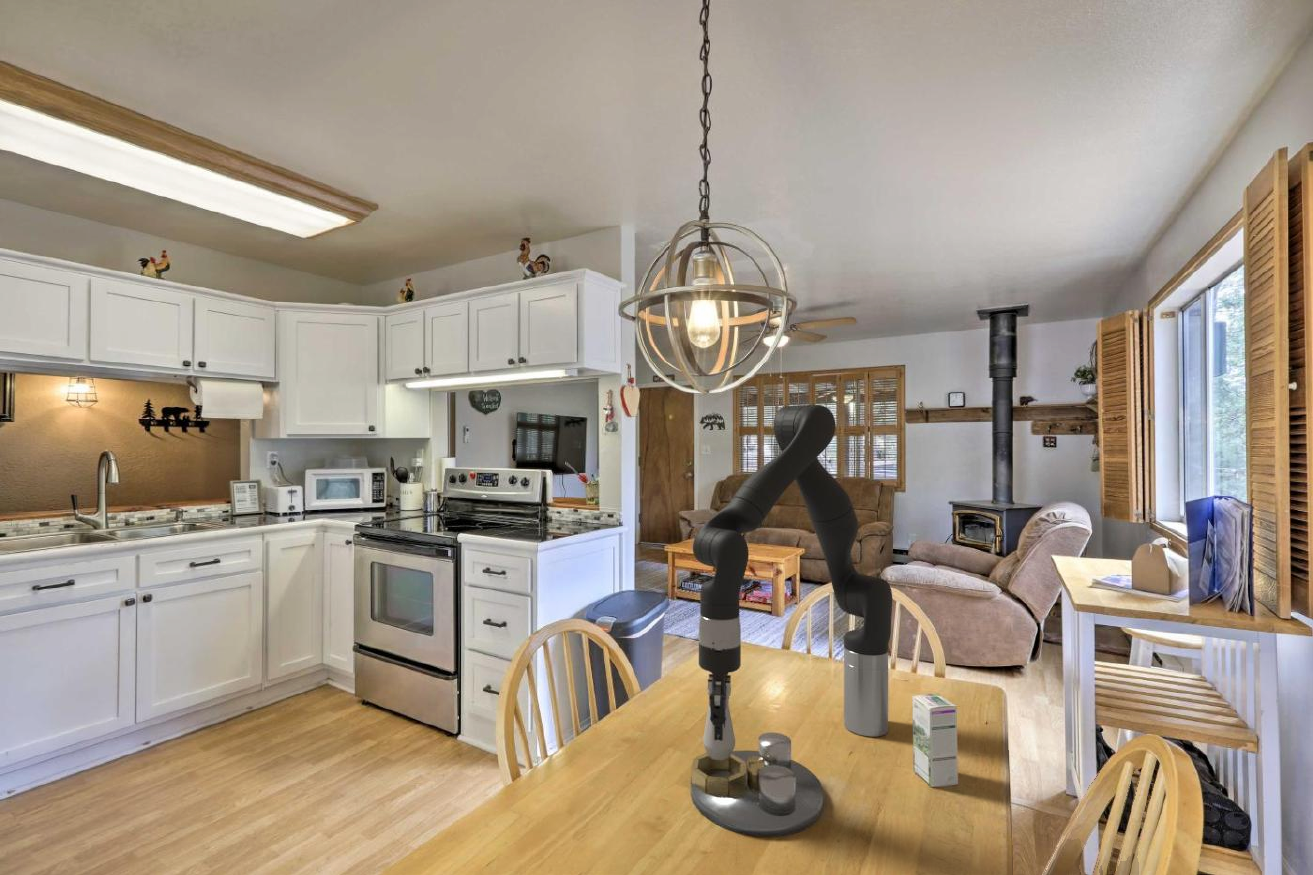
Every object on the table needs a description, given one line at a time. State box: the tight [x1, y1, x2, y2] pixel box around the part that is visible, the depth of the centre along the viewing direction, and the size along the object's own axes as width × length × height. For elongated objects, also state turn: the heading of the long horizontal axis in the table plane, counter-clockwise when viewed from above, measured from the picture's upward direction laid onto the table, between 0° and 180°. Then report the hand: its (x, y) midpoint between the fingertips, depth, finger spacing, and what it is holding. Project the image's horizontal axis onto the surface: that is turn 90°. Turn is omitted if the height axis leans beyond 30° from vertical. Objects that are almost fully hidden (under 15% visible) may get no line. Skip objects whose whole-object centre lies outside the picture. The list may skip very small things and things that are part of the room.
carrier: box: [690, 732, 824, 838], centre depth 107 cm, size 23×23×7 cm
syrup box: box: [912, 693, 959, 788], centre depth 112 cm, size 6×6×14 cm
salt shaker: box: [702, 684, 736, 760], centre depth 108 cm, size 6×6×13 cm
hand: (719, 736), depth 108 cm, fingers closed on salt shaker, 3 cm apart
